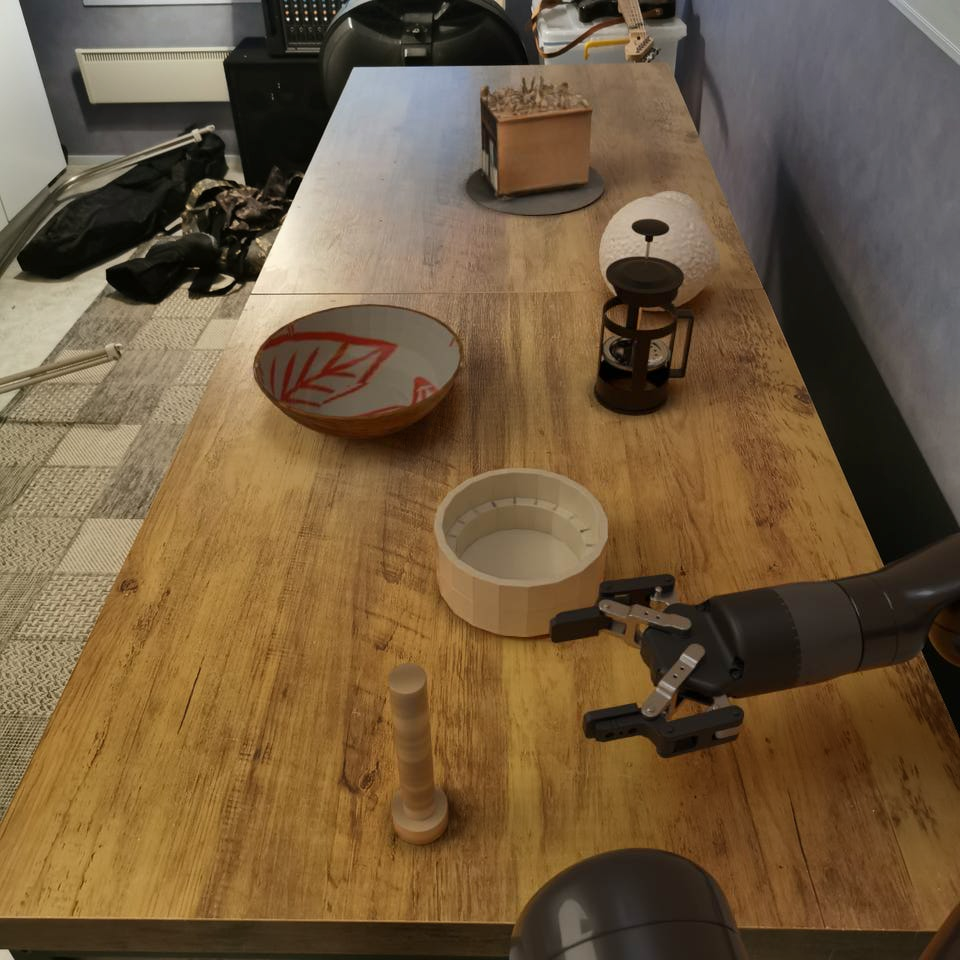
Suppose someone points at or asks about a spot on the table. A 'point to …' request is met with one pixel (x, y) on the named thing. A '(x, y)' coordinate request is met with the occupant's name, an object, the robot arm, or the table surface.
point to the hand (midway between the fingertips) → (566, 676)
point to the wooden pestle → (415, 759)
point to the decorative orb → (665, 241)
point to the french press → (635, 348)
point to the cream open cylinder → (519, 549)
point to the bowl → (359, 369)
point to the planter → (535, 151)
